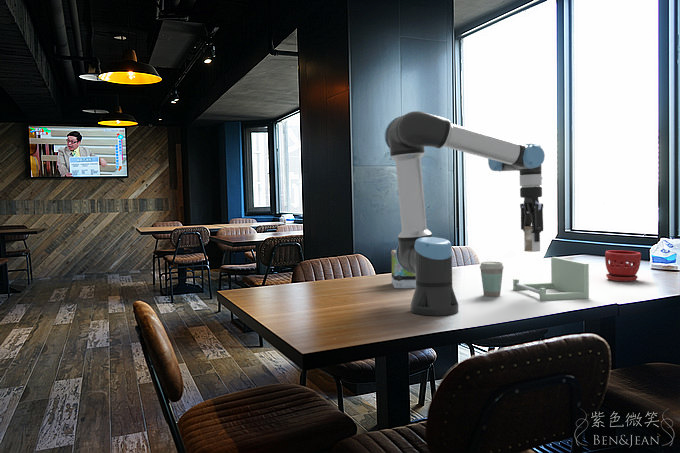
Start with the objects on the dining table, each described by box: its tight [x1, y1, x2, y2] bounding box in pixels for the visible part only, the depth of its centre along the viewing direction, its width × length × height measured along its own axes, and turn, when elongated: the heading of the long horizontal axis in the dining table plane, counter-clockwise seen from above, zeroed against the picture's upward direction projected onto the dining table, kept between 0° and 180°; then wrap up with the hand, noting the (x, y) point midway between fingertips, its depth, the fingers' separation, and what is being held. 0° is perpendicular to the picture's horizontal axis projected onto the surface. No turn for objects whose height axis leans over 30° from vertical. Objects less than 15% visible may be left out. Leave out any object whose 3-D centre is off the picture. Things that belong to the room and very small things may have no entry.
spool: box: [524, 225, 537, 252], centre depth 196 cm, size 5×5×9 cm
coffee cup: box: [479, 261, 504, 298], centre depth 197 cm, size 8×8×12 cm
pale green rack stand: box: [512, 256, 590, 301], centre depth 197 cm, size 17×23×12 cm
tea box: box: [390, 249, 416, 289], centre depth 224 cm, size 15×10×15 cm
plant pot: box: [604, 249, 642, 282], centre depth 222 cm, size 13×13×12 cm
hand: (532, 249), depth 196 cm, fingers closed on spool, 5 cm apart
